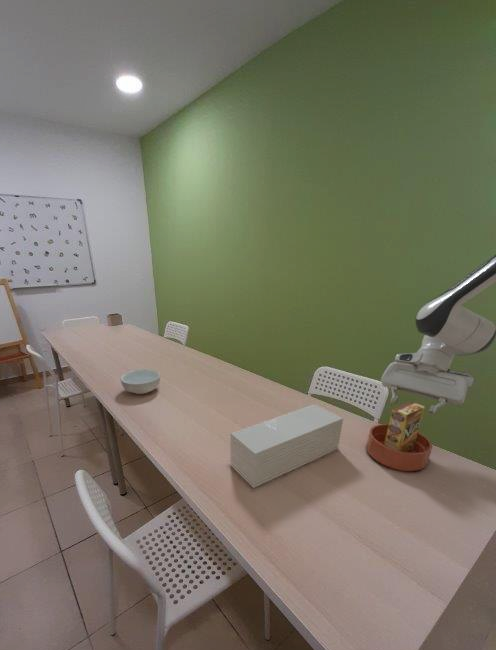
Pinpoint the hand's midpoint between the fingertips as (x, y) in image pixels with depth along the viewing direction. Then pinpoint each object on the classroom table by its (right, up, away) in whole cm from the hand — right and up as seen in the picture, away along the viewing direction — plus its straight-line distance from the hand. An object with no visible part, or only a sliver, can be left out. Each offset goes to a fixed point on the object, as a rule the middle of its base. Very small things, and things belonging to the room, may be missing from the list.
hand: (411, 407), depth 84 cm
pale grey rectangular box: (-35, -15, +4) cm, 38 cm away
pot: (-3, -14, +3) cm, 15 cm away
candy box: (-3, -14, +3) cm, 15 cm away
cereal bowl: (-87, +3, +50) cm, 100 cm away
